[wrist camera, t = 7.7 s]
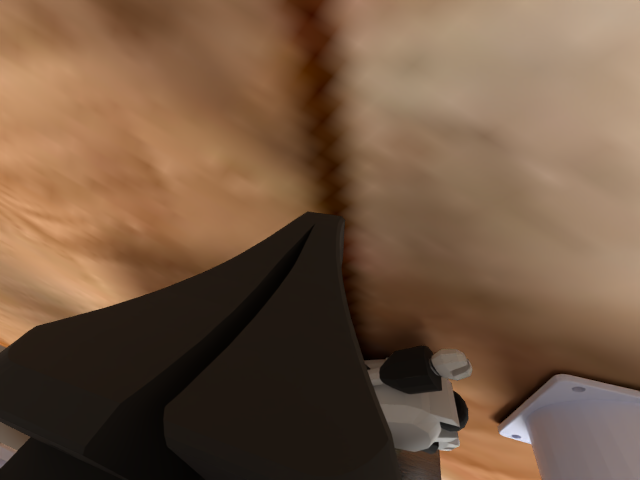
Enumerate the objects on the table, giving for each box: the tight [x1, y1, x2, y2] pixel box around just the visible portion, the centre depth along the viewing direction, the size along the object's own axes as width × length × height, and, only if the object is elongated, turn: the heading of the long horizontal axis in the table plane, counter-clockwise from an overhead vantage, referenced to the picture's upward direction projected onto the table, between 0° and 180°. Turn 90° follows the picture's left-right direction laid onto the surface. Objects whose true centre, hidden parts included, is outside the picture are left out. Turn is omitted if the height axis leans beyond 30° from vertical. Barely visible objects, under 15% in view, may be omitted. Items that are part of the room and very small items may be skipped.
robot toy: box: [364, 345, 472, 454], centre depth 17 cm, size 12×4×15 cm
